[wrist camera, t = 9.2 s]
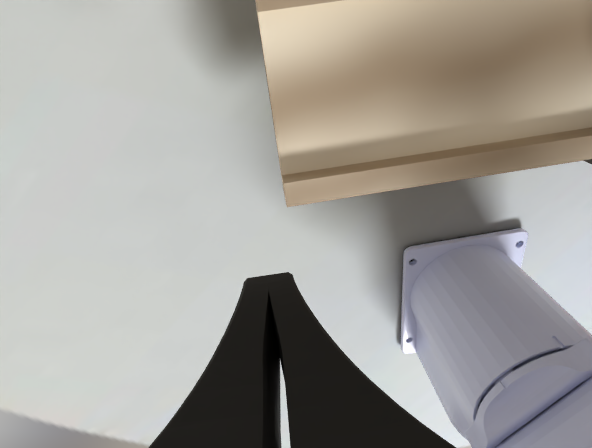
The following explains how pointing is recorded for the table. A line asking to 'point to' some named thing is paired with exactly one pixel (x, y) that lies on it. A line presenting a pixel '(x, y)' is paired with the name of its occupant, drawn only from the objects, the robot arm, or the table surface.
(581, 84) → the balance beam
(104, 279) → the table surface
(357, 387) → the robot arm
